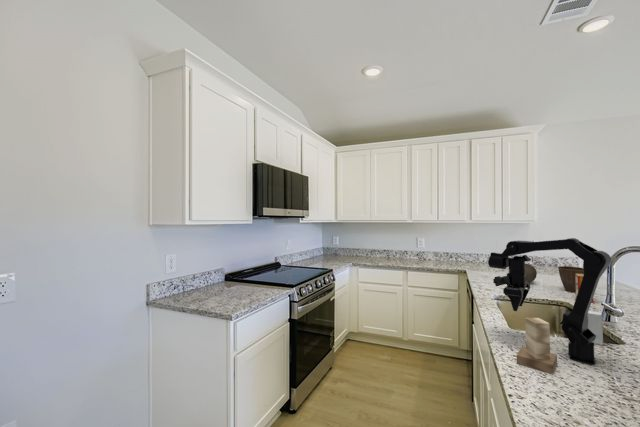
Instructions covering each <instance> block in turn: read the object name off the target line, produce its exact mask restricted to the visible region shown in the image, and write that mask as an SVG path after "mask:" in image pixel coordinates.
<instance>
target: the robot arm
mask: <svg viewBox="0 0 640 427" xmlns="http://www.w3.org/2000/svg"><path fill="white" fill-rule="evenodd" d="M556 250H557V251H558V250H569V251H571V253H572V254H574V255H575V256H576V257H577V258H579V259H581V260H583V261H582V263H583V264H582V268H583V271H584V276H583V279H582V282H581V285H580V288H579V291H578V294H577V297H576V296H575V301H574V303H573V307H572V309H571V310H569V311H566V312H564V313H563V315H562V320H561V322H559V324H560V325H561V330H562V332H563V333H564V334H565V335H566V337H567V339H568V341H569V342H568V343H567V348H568V356H569V359H570V360H572V361H577V362H582V363H584V364H589V365H593V366H594V365H595V363H596V357H595V344H594V343H593V341H594V340H595V338H596V335H595V334H594V333H593V332H591V331H590V330H589V329H588V311H590V307H591V302H592V299H593V300H594V296H595V293H596V289H597V287H598V284H599V281H600V278H601V277H602V276H603V274H604V273H605V271H607V269H608V267H609V265H610V264H611V263H612V257H611V256H610V255H609V254H608V252H605V251H603V250H598V249H596V248H595V247H592V246H590V245H588V244H586V243H584V242H582V241H581V240H579V239H578V238H574V237H571V238H570V237H569V238H566V239H556V240H555V239H554V240H553V239H552V240H541V241H529V240H513V241H509V242H507V243H506V247H505V249H504V250H503V251H502V252H500V253H499V252H490V256H489V258H488V260H487V264H488V266H489V267H490V268H492V269H500V270H507V268H508V272H507V273H506V275H503V276H500V275H498V276H497V275H496V276H494V278H493V279H492V281H493V282H492V283H493V284H494V285H495V287H500V286H503V285H506V286H505V287H504V288H503V289H502V290H503V295H504V296H506V297H508V299H509V301H510V304H511V307H512V311H514V312H517V311H518V310H519V308H520V307H523V304H524V302H525V300H526V298H527V296H528V294H529V292H530V289H531V282H530V283H529V282H526V281H525V276H526V273H525V264H526V262H530V261H532V259H531V258H530V257H529V256H528V255H527V254H528V253H532V252H539V251H540V252H541V251H556ZM521 255H522V256H521Z"/></svg>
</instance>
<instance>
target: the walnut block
mask: <svg viewBox="0 0 640 427" xmlns="http://www.w3.org/2000/svg"><path fill="white" fill-rule="evenodd" d="M516 364H517V365H519V366H523V367H525V368H526V367H527V368H529V369H533V370H537V371H540V372H543V373H547V374H551V375H554V373H555V371H556V368H557V365H558V354H556V353H552V352H550V359H536V358H534V357H533V356H532V355H530V354H529V353H527V352H526V346H524V345H522V346H521V347H520V349H519V351H518V352H517V354H516Z"/></svg>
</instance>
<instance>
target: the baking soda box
mask: <svg viewBox="0 0 640 427" xmlns="http://www.w3.org/2000/svg"><path fill="white" fill-rule="evenodd" d="M583 276H584V274H576V273H575V284H576V293H575V298H576V297H577V294H578V291H579V288H580V285H581V282H582V279H583ZM591 303H593V304H594V298H593V299H592V302H591Z"/></svg>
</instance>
